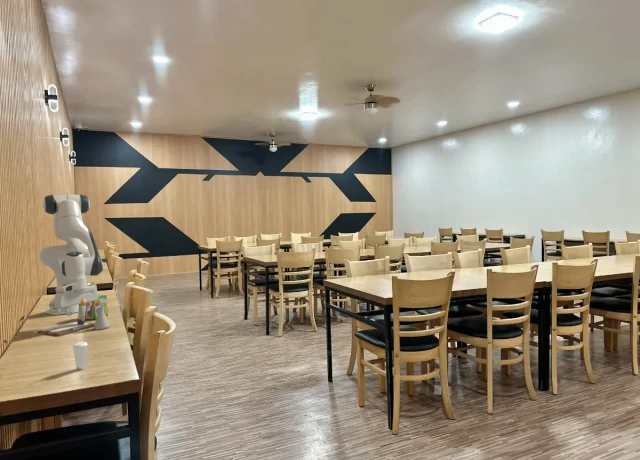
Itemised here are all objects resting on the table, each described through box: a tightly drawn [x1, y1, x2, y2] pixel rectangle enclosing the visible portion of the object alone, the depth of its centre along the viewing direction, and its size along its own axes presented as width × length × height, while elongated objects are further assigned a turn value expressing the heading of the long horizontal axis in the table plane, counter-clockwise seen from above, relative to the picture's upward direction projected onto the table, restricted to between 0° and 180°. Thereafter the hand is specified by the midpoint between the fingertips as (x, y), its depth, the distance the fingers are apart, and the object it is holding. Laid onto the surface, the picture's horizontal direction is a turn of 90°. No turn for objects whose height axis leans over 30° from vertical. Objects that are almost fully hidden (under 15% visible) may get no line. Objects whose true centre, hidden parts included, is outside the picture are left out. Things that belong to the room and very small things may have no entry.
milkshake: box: [70, 341, 89, 371], centre depth 150 cm, size 4×5×10 cm
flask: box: [92, 307, 111, 331], centre depth 207 cm, size 7×7×10 cm
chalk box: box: [85, 294, 109, 321], centre depth 231 cm, size 9×9×15 cm
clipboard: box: [37, 320, 95, 337], centre depth 208 cm, size 17×19×2 cm
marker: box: [77, 299, 86, 324], centre depth 212 cm, size 3×3×12 cm
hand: (78, 313), depth 212 cm, fingers open, 8 cm apart
